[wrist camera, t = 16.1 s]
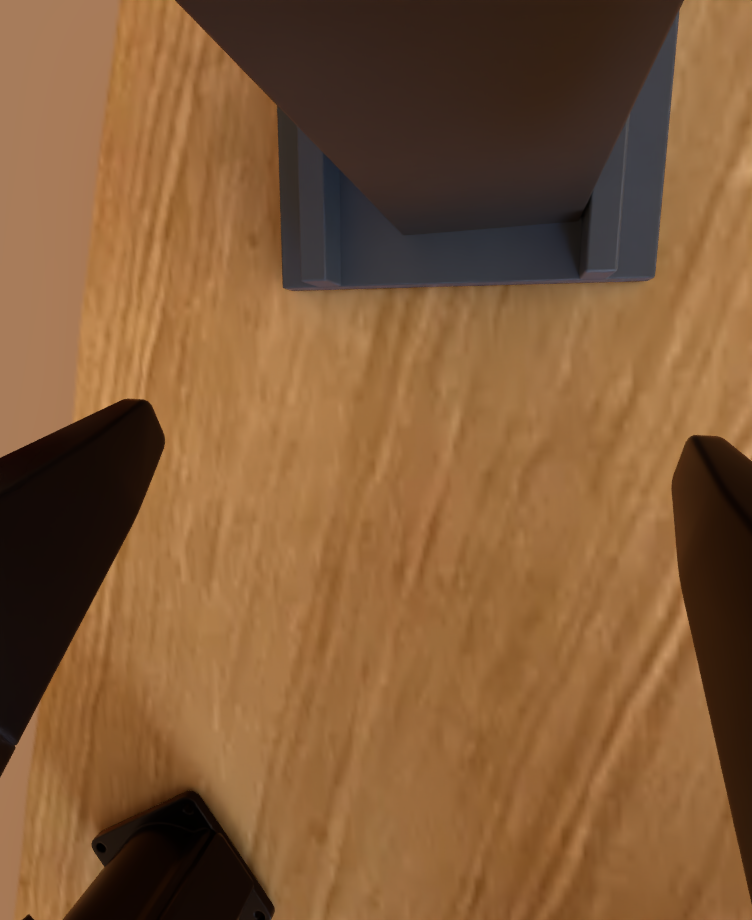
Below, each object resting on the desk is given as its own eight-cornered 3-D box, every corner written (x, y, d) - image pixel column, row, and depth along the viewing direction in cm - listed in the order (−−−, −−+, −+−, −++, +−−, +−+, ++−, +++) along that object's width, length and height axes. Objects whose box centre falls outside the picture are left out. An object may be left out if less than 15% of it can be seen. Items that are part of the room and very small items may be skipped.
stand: (648, 281, 16) (669, 270, 14) (291, 290, 19) (261, 283, 16) (698, -277, 14) (734, -399, 11) (278, -175, 16) (241, -259, 14)
